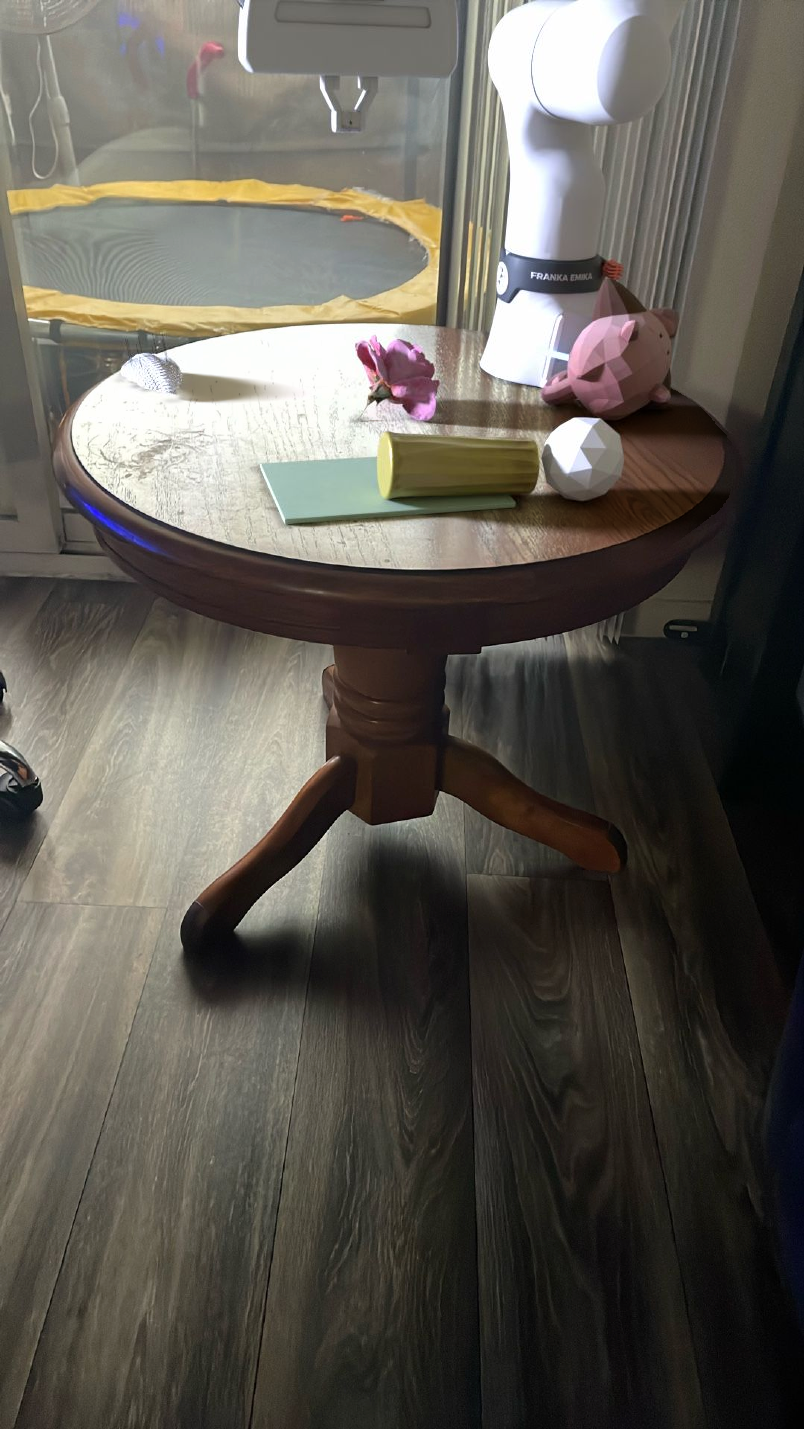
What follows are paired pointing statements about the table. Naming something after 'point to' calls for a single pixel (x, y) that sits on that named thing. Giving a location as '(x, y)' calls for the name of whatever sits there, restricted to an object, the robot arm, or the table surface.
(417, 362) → the flower
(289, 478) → the mat
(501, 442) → the vase
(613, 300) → the toy
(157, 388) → the pincushion
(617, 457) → the geometric ball
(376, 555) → the table surface
